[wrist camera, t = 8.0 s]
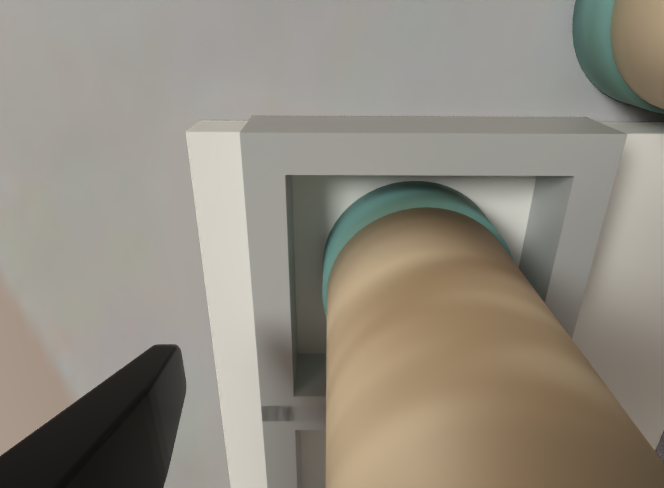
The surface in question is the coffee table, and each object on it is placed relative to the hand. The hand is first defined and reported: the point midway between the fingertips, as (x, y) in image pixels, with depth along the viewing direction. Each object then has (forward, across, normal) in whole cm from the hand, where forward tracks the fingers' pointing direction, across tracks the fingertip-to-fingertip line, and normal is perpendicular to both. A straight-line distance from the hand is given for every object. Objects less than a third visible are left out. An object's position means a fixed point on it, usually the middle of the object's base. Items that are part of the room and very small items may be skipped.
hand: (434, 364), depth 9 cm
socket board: (+5, -2, +3) cm, 6 cm away
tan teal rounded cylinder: (+4, 0, 0) cm, 4 cm away
